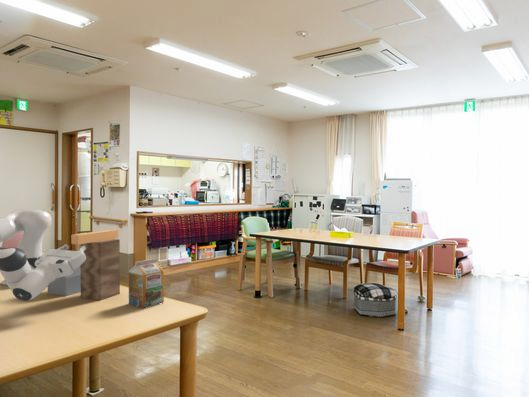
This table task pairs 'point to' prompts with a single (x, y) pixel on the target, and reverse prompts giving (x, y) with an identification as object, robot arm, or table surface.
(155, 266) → the milk carton
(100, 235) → the orange bar
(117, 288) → the walnut post
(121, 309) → the table surface
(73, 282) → the slate pedestal
